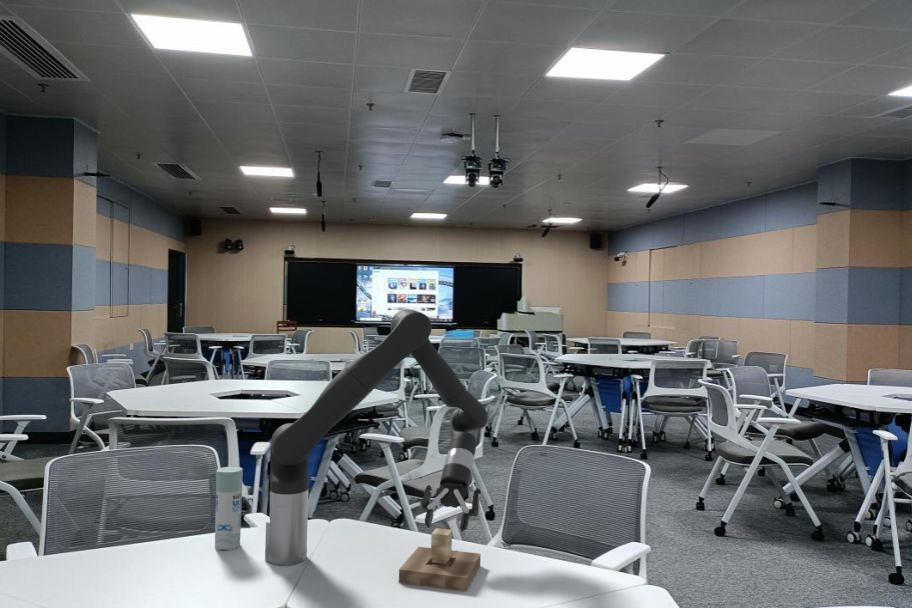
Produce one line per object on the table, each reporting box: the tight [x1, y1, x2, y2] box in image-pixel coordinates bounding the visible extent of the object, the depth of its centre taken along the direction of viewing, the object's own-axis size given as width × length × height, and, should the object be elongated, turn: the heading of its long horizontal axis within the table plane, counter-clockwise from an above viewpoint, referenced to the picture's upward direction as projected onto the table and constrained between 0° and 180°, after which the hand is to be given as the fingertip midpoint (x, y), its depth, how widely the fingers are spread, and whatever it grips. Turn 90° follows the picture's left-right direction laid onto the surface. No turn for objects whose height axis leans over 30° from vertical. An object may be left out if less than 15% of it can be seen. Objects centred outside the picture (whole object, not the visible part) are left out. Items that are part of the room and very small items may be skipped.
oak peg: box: [430, 527, 453, 567], centre depth 153 cm, size 4×4×10 cm
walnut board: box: [398, 546, 482, 592], centre depth 153 cm, size 16×15×3 cm
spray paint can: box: [214, 466, 244, 551], centre depth 168 cm, size 6×6×20 cm
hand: (445, 528), depth 156 cm, fingers open, 8 cm apart
